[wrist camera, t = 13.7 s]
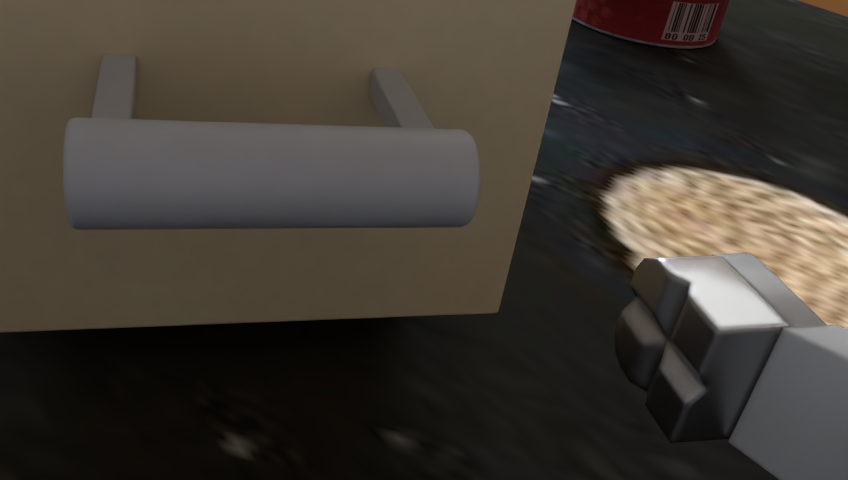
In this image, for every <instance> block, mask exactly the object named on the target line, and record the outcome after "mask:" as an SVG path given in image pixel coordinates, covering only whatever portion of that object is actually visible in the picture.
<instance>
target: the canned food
mask: <svg viewBox="0 0 848 480" xmlns="http://www.w3.org/2000/svg"><path fill="white" fill-rule="evenodd" d="M728 3H729V0H577V1H576V4H575V8H574V12H573V16H572V20H574V21H576V22H578V23H580V24H582V25H584V26H586V27H588V28H591V29H593V30H595V31H598V32H601V33H604V34H607V35H610V36H613V37H617V38H620V39H624V40H628V41H632V42H636V43H641V44H646V45H652V46H658V47H666V48H677V49H694V48H703V47H707V46H710V45H712V44H713V43H715V41H716V39H717V34H718V32H719V29H720V26H721V23H722V20H723V17H724V15H725V12H726V9H727V6H728Z"/></svg>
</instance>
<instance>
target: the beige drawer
mask: <svg viewBox="0 0 848 480" xmlns="http://www.w3.org/2000/svg"><path fill="white" fill-rule="evenodd" d="M576 1H577V0H0V333H5V332H31V331H56V330H82V329H107V328H132V327H158V326H183V325H209V324H234V323H259V322H285V321H310V320H335V319H361V318H386V317H412V316H437V315H462V314H488V313H497V312H498V310H499V306H500V302H501V298H502V294H503V290H504V286H505V283H506V279H507V275H508V271H509V267H510V263H511V259H512V255H513V251H514V247H515V243H516V239H517V235H518V231H519V227H520V223H521V219H522V215H523V211H524V207H525V203H526V199H527V195H528V191H529V187H530V183H531V179H532V175H533V171H534V167H535V163H536V159H537V155H538V151H539V147H540V143H541V140H542V136H543V132H544V128H545V124H546V120H547V116H548V112H549V108H550V104H551V100H552V96H553V92H554V88H555V84H556V80H557V76H558V72H559V68H560V64H561V60H562V56H563V52H564V48H565V44H566V40H567V36H568V32H569V28H570V24H571V20H572V16H573V12H574V8H575V4H576Z"/></svg>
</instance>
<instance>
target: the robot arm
mask: <svg viewBox="0 0 848 480" xmlns="http://www.w3.org/2000/svg"><path fill="white" fill-rule="evenodd" d="M630 285H631V288H632V290H633V292H634V295H635V297H636V298H635V299H634V300H633V301H632V302H631V303H629V304H628V305H627V306H626V307H625V308H624V309H623V310H622V311H621V312H620V316H619V319H618V323H617V326H616V329H615V352H616V355H617V359H618V362H619V365H620V367H621V369H622V370H623V372H624V374H625V375H626V377H627V378H628V380H629V381H630V382H632V383H633V384H635V385H637V386H638V387H640V388H642V389H643V390H645V391H646V392H648V393H647V398H646V404H645V406H646V407H647V409H648V410H649V412H650V413H651V415H652V416H653V418H654V419H655V421H656V422H657V424H658V425H659V427H660V428H661V429H662V431H663V432H664V434H665V435H666V437H667V438H668V440H669V441H670V443H676V442H691V441H705V440H719V439H729V441H728V442H729V443H730V444H732V445H733V446H735V447H736V448H737V449H739V450H740V451H741V452H743V453H744V454H745V455H747V456H748V457H749V458H751V459H752V460H753V461H755V462H756V463H757V464H759V465H760V466H761V467H763V468H764V469H765V470H767V471H768V472H770V473H771V474H772V475H774V476H775V477H776V478H778V479H779V480H848V330H847V329H845V328H843V327H841V326H838V325H827V324H826V323H824V322H823V321H822V320H821V319H820V318H819V317H818V316H817V315H816V314H815V313H814V312H813V311H812V310H811V309H810V308H809V307H808V306H807V305H806V304H805V303H804V302H803V301H802V300H801V299H799V298H798V297H797V296H796V295H795V294H794V293H793V292H792V291H791V290H790V289H789V288H788V287H787V286H786V285H785V284H784V283H783V282H782V281H781V280H780V279H779V278H778V277H777V276H776V275H774V274H773V273H772V272H771V271H770V270H769V269H768V268H767V267H766V266H765V265H764V264H763V263H762V262H761V261H760V260H759V259H758V258H757V257H754V256H752V255H749V254H746V253H736V254H720V255H711V256H694V257H668V258H644V259H643V261H642V262H641V263H640V264H639V265H638V267H637V268H636V270H635V272H634V275H633V278H632V281H631V283H630Z"/></svg>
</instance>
